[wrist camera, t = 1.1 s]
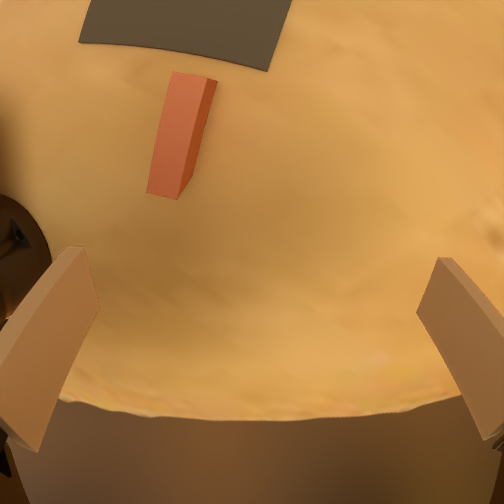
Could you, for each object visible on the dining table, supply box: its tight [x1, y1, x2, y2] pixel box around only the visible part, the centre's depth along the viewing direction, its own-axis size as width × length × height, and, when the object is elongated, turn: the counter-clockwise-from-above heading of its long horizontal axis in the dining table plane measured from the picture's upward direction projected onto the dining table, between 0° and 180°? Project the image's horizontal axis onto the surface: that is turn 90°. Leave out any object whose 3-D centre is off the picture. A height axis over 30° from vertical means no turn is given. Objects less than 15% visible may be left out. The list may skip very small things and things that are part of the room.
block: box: [147, 72, 217, 200], centre depth 22 cm, size 2×9×6 cm, turn 163°
